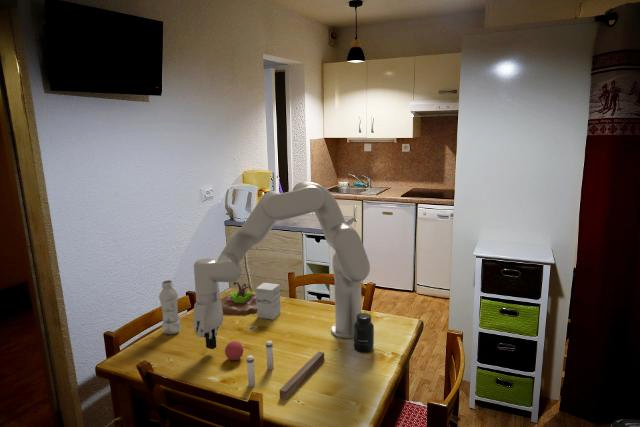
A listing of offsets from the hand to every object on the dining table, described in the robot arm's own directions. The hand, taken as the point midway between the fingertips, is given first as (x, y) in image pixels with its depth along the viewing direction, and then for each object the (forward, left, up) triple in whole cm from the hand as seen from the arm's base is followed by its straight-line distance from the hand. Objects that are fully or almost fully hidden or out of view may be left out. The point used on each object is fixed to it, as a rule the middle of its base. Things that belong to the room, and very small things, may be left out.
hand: (211, 347), depth 150 cm
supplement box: (-1, -34, -2) cm, 34 cm away
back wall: (-36, 0, -2) cm, 36 cm away
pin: (-24, 0, -2) cm, 24 cm away
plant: (+16, -38, -3) cm, 41 cm away
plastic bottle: (+24, -6, -2) cm, 25 cm away
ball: (-10, 0, +1) cm, 10 cm away
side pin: (-24, +10, -2) cm, 26 cm away
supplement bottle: (-46, -24, -2) cm, 52 cm away
